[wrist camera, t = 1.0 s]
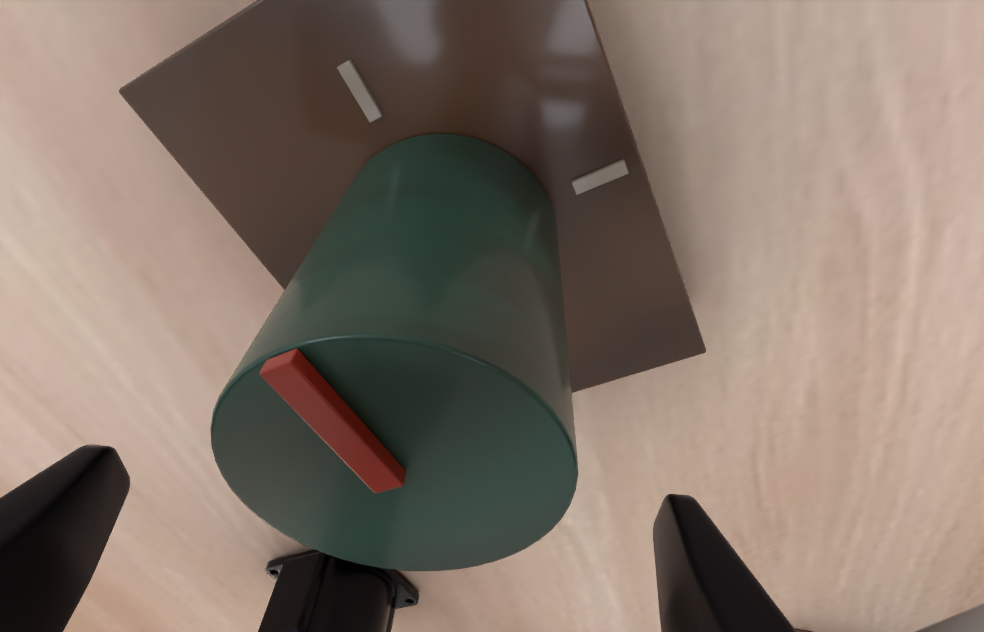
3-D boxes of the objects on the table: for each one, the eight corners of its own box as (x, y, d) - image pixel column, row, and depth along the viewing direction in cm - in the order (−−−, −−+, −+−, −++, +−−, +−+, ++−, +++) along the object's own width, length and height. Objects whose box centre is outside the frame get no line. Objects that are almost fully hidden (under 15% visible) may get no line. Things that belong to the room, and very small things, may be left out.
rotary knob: (588, 284, 16) (630, 552, 10) (412, 347, 18) (345, 609, 11) (499, 90, 13) (471, 288, 6) (297, 190, 15) (114, 424, 8)
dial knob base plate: (689, 306, 20) (708, 356, 17) (421, 394, 23) (410, 445, 21) (528, -163, 12) (528, -175, 10) (168, 65, 16) (111, 92, 13)
